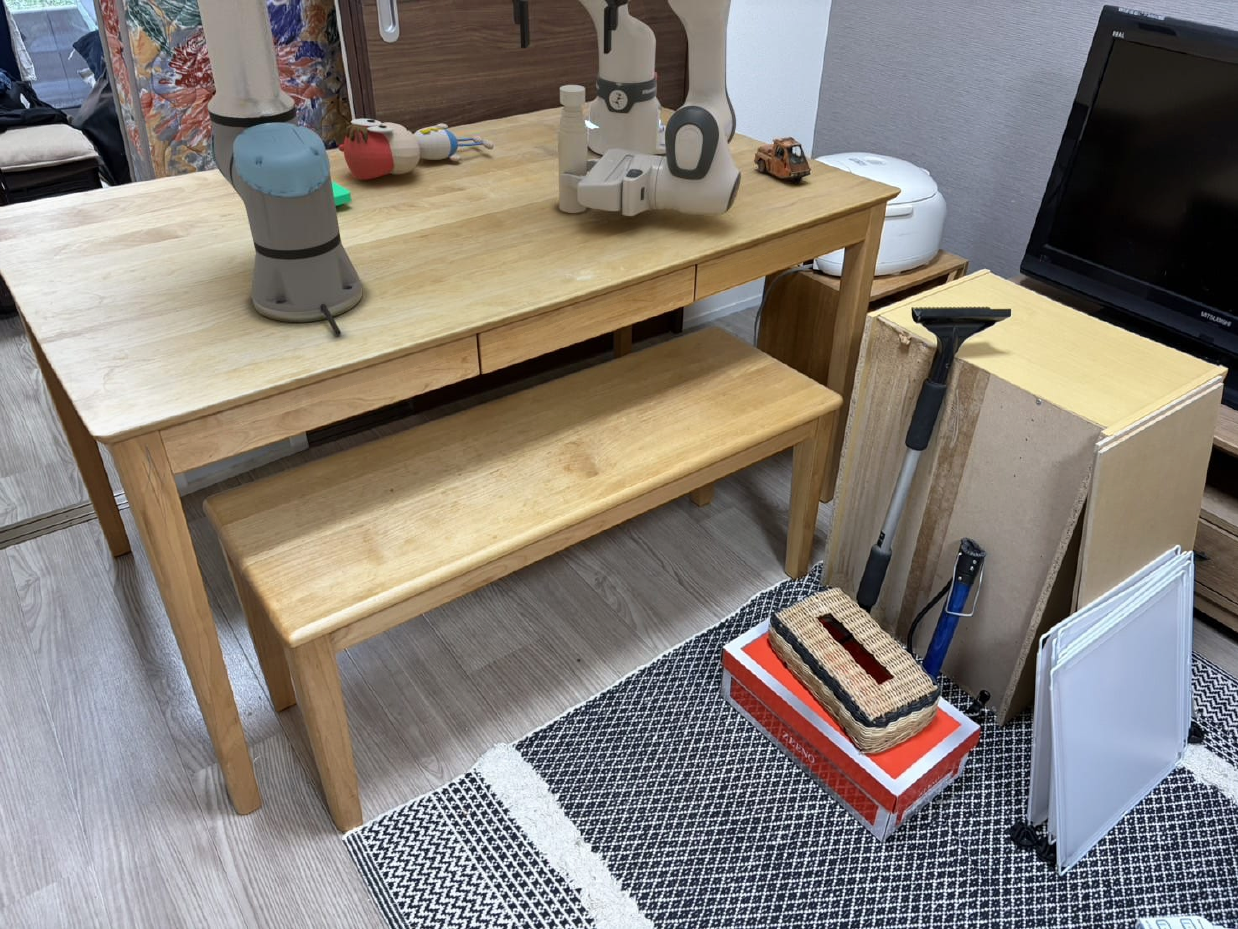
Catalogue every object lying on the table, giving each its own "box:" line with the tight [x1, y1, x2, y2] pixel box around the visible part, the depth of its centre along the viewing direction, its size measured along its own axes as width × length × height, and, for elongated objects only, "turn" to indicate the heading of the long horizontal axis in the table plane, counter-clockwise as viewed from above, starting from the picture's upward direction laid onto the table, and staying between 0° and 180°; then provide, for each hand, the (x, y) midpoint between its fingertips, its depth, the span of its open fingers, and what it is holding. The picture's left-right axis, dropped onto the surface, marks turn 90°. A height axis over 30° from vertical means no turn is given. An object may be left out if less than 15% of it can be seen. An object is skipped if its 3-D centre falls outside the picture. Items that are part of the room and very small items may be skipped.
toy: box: [338, 118, 494, 181], centre depth 178 cm, size 18×10×30 cm
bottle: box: [557, 105, 588, 214], centre depth 159 cm, size 5×5×20 cm
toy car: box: [753, 136, 812, 184], centre depth 179 cm, size 6×12×7 cm, turn 39°
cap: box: [559, 84, 586, 106], centre depth 154 cm, size 4×4×2 cm
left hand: (566, 49), depth 149 cm, fingers open, 13 cm apart
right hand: (568, 171), depth 162 cm, fingers open, 5 cm apart
